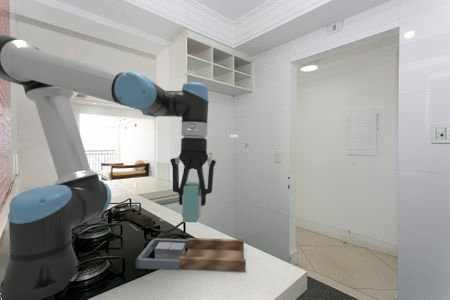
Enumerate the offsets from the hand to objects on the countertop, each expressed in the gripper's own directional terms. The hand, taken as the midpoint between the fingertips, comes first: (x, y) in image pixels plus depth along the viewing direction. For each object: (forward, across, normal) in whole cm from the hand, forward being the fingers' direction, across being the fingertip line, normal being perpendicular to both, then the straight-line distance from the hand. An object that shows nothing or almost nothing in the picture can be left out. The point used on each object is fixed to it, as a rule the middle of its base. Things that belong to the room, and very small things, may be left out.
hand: (192, 215), depth 64 cm
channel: (+14, +7, 0) cm, 16 cm away
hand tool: (+15, -27, +27) cm, 41 cm away
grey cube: (+14, -8, 0) cm, 16 cm away
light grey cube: (+13, -4, 0) cm, 14 cm away
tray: (+14, -8, 0) cm, 16 cm away
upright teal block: (+1, 0, 0) cm, 1 cm away
